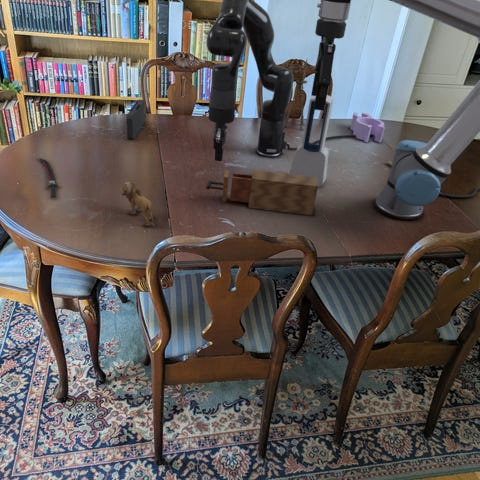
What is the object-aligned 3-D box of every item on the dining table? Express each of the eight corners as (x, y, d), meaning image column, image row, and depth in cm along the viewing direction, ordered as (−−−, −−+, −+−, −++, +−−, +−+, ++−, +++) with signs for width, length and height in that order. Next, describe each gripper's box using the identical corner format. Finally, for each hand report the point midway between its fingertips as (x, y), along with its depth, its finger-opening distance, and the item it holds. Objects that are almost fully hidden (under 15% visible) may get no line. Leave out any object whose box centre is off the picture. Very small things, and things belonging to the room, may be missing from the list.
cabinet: (248, 207, 147) (251, 178, 141) (249, 198, 152) (252, 169, 147) (312, 215, 146) (317, 186, 141) (311, 205, 152) (316, 177, 146)
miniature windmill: (301, 130, 212) (313, 61, 196) (283, 127, 213) (293, 58, 197) (303, 124, 220) (314, 57, 204) (285, 121, 221) (295, 54, 205)
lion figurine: (118, 210, 138) (116, 182, 133) (132, 204, 141) (131, 177, 137) (151, 229, 130) (150, 201, 126) (165, 223, 134) (165, 195, 129)
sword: (61, 197, 141) (61, 193, 140) (50, 198, 139) (50, 194, 139) (49, 160, 164) (48, 156, 163) (39, 160, 163) (39, 157, 162)
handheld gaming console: (138, 121, 203) (138, 98, 197) (145, 121, 203) (144, 98, 198) (126, 140, 184) (125, 115, 178) (133, 140, 184) (132, 115, 178)
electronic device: (325, 180, 169) (342, 97, 152) (321, 188, 163) (339, 103, 146) (292, 173, 172) (306, 91, 155) (287, 181, 165) (301, 96, 149)
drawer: (205, 199, 147) (206, 174, 143) (207, 192, 151) (209, 168, 147) (282, 208, 147) (286, 184, 142) (282, 200, 151) (286, 177, 146)
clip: (343, 126, 223) (346, 112, 219) (367, 127, 225) (371, 113, 221) (360, 142, 206) (364, 127, 202) (386, 142, 209) (390, 127, 205)
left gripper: (212, 95, 139) (209, 150, 148) (206, 109, 127) (202, 167, 137) (237, 98, 138) (232, 153, 148) (233, 112, 127) (228, 170, 137)
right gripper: (314, 12, 130) (302, 89, 141) (320, 25, 109) (305, 114, 120) (341, 15, 130) (327, 92, 141) (352, 28, 109) (334, 117, 120)
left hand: (218, 160), depth 142 cm, fingers closed
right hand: (317, 102), depth 131 cm, fingers open, 13 cm apart
